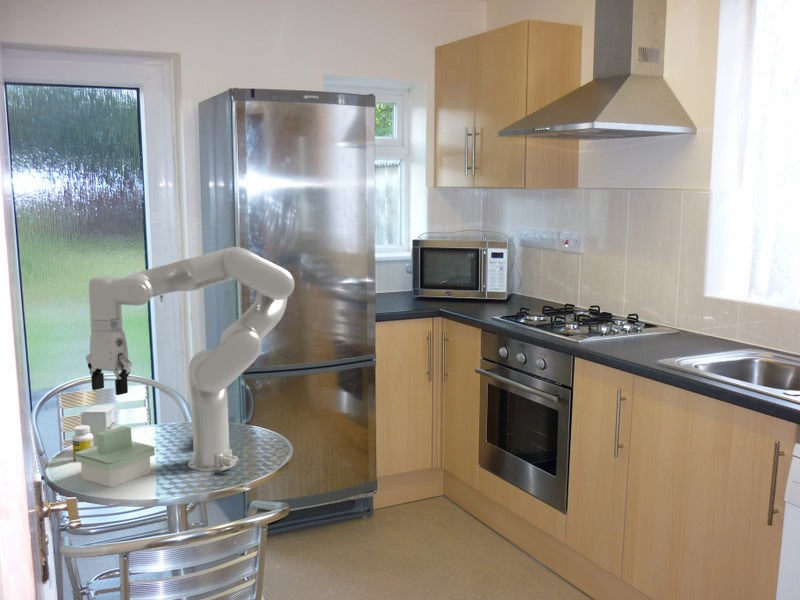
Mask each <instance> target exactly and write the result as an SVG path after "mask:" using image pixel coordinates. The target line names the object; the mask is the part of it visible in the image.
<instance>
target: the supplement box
mask: <svg viewBox="0 0 800 600" xmlns="http://www.w3.org/2000/svg"><path fill="white" fill-rule="evenodd" d="M80 420H81V421H80V422H81V425H88V426H90V432H89V433H91V434H92V435H93V442H94V447H95V446H97V436H96V434H97V433H101V432H104V431H108V430H111V429H115V428H117V419H116V406H115V405H94V406H93V405H92V406H91V405H90V406H89V407H88V408H86V409H85V410H83V411H81V412H80Z"/></svg>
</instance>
